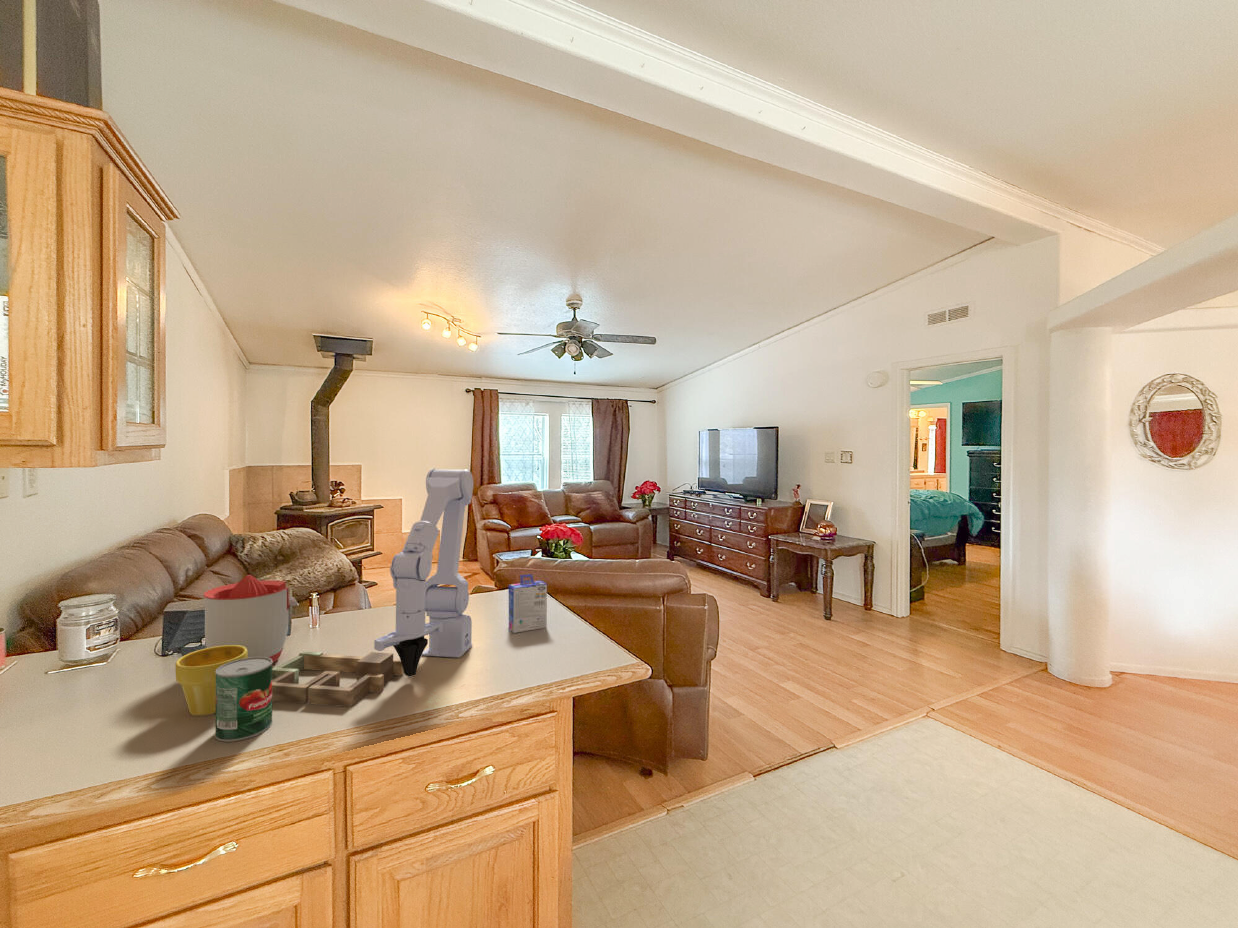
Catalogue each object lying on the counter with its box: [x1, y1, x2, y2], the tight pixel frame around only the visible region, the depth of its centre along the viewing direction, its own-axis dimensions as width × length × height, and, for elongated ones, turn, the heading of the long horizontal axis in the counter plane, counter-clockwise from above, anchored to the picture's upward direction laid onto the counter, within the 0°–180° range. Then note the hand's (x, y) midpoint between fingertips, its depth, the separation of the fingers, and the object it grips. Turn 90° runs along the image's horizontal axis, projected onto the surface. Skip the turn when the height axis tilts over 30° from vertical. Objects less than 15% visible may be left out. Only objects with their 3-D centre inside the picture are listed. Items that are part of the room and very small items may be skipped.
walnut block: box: [356, 651, 394, 684], centre depth 105 cm, size 5×5×5 cm
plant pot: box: [174, 645, 248, 717], centre depth 93 cm, size 10×10×10 cm
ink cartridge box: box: [507, 573, 548, 634], centre depth 139 cm, size 10×6×14 cm, turn 120°
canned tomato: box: [214, 657, 274, 743], centre depth 86 cm, size 8×8×11 cm
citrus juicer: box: [203, 574, 299, 664], centre depth 113 cm, size 16×17×20 cm
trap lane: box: [272, 650, 404, 708], centre depth 103 cm, size 24×15×3 cm, turn 84°
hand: (409, 674), depth 105 cm, fingers closed
